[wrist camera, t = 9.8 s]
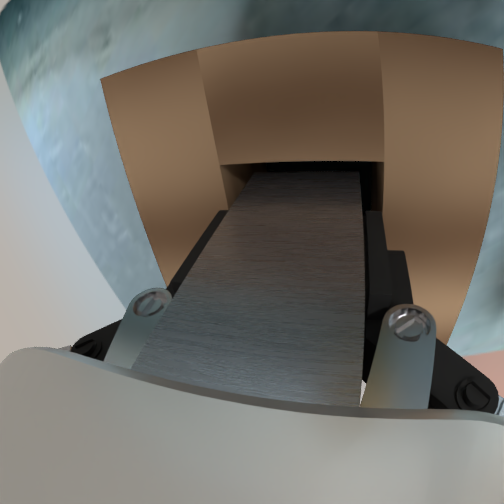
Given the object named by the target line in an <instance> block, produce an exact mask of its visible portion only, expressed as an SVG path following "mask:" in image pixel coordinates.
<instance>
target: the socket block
mask: <svg viewBox="0 0 504 504" xmlns="http://www.w3.org/2000/svg"><path fill="white" fill-rule="evenodd" d="M100 80H101V84H102V88H103V92H104V96H105V100H106V104H107V108H108V112H109V116H110V120H111V123H112V127H113V131H114V134H115V138H116V141H117V145H118V148H119V152H120V155H121V158H122V162H123V165H124V168H125V171H126V174H127V178H128V181H129V184H130V187H131V190H132V193H133V196H134V199H135V202H136V205H137V208H138V211H139V214H140V217H141V220H142V222H143V225H144V228H145V231H146V234H147V236H148V239H149V242H150V245H151V247H152V250H153V253H154V255H155V258H156V261H157V263H158V266H159V268H160V271H161V273H162V276H163V279H164V281H165V284H166V286H167V287H168V285H169V284H170V281H171V280H172V278H173V277H174V275H175V274H176V272H177V271H178V269H179V268H180V266H181V265H182V263H183V262H184V260H185V259H186V257H187V256H188V254H189V253H190V252H191V250H192V249H193V247H194V246H195V244H196V243H197V241H198V240H199V238H200V237H201V236H202V234H203V233H204V231H205V230H206V228H207V227H208V225H209V224H210V223H211V221H212V220H213V218H214V217H215V215H216V214H217V213H218V211H219V210H229V209H230V208H231V206H232V205H233V203H234V202H235V200H236V199H237V197H238V196H239V194H240V193H241V191H242V190H243V188H244V187H245V185H246V184H247V182H248V181H249V179H250V178H251V176H252V175H253V174H254V172H267V167H266V162H288V161H371V211H381V212H382V217H383V223H384V230H385V237H386V244H387V250H401V251H404V252H405V256H406V261H407V267H408V272H409V278H410V284H411V290H412V297H413V304H414V305H417V306H421V307H422V308H424V309H426V310H427V311H428V312H429V313H430V314H431V315H432V316H433V318H434V319H435V321H436V328H437V329H436V338H437V339H439V340H440V341H441V342H443V343H444V344H445V345H447V343H448V340H449V338H450V336H451V333H452V331H453V328H454V326H455V323H456V321H457V318H458V316H459V313H460V311H461V308H462V305H463V302H464V300H465V297H466V294H467V291H468V288H469V285H470V282H471V279H472V276H473V273H474V270H475V266H476V263H477V260H478V256H479V253H480V249H481V246H482V242H483V238H484V234H485V230H486V226H487V221H488V217H489V212H490V208H491V203H492V198H493V192H494V187H495V181H496V175H497V168H498V161H499V153H500V144H501V133H502V120H503V98H504V68H503V49H501V48H497V47H493V46H489V45H484V44H479V43H474V42H469V41H464V40H458V39H452V38H445V37H438V36H430V35H421V34H411V33H398V32H379V31H330V32H311V33H297V34H286V35H277V36H269V37H261V38H254V39H247V40H241V41H235V42H230V43H224V44H219V45H214V46H209V47H205V48H200V49H196V50H192V51H188V52H184V53H180V54H176V55H172V56H168V57H165V58H161V59H158V60H154V61H151V62H148V63H145V64H141V65H138V66H135V67H132V68H129V69H126V70H123V71H121V72H118V73H115V74H112V75H110V76H107V77H104V78H102V79H100Z"/></svg>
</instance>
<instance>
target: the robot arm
mask: <svg viewBox="0 0 504 504" xmlns="http://www.w3.org/2000/svg"><path fill="white" fill-rule="evenodd" d="M228 211H229V210H219V211H218V213H217V214H216V215H215V217H214V218H213V220H212V221H211V223H210V224H209V225H208V227H207V228H206V230H205V231H204V233H203V234H202V236H201V237H200V238H199V240H198V241H197V243H196V244H195V246H194V247H193V249H192V250H191V252H190V253H189V254H188V256H187V257H186V259H185V260H184V262H183V263H182V265H181V266H180V268H179V269H178V271H177V272H176V274H175V275H174V277H173V278H172V280H171V281H170V284H169V285H168V287H167V288H166V289H163V288H152V289H148V290H145V291H143V292H141V293H140V294H138V295H137V296H136V297H135V298H133V300H132V301H131V303H130V304H129V306H128V308H127V310H126V313H125V315H124V317H123V319H121V320H119V321H117V322H114V323H112V324H110V325H108V326H106V327H103V328H101V329H99V330H97V331H95V332H92V333H90V334H88V335H86V336H84V337H82V338H80V339H79V340H78V341H77V342H76V343H75V344H74V345H73V347H71V345H70V346H67V347H63V348H59V349H55V348H50V347H49V348H48V347H31V348H24V349H20V350H17V351H14V352H12V353H11V354H9V355H8V356H7V357H6V358H5V359H4V360H3V362H2V363H1V364H0V504H504V398H502V397H501V396H499V395H498V391H497V389H496V387H495V385H494V383H493V382H492V381H491V380H490V379H489V378H487V377H486V376H485V375H484V374H482V373H481V372H480V371H479V370H477V369H476V368H475V367H474V366H472V365H471V364H470V363H468V362H467V361H466V360H465V359H463V358H462V357H461V356H459V355H458V354H457V353H456V352H454V351H453V350H452V349H450V348H449V347H448V346H446V345H445V344H444V343H443V342H441V341H440V340H439V339H437V338H436V329H437V328H436V321H435V319H434V318H433V316H432V315H431V314H430V313H429V312H428V311H427V310H426V309H424V308H422V307H421V306H417V305H414V304H413V297H412V290H411V284H410V278H409V272H408V267H407V261H406V256H405V252H404V251H401V250H387V244H386V237H385V230H384V223H383V217H382V212H381V211H365V215H362V216H363V235H364V264H365V321H364V350H363V369H362V380H363V381H364V382H365V383H366V388H365V391H364V395H363V398H362V401H361V404H360V407H346V406H332V405H320V404H310V403H300V402H292V401H284V400H276V399H269V398H262V397H255V396H249V395H243V394H237V393H231V392H226V391H220V390H215V389H210V388H205V387H200V386H195V385H191V384H186V383H182V382H177V381H173V380H169V379H165V378H161V377H157V376H153V375H149V374H145V373H141V372H138V371H134V370H130V369H131V367H132V365H133V364H134V362H135V360H136V359H137V357H138V355H139V353H140V352H141V350H142V348H143V347H144V345H145V343H146V342H147V340H148V338H149V337H150V335H151V333H152V331H153V330H154V328H155V326H156V325H157V323H158V322H159V320H160V318H161V317H162V315H163V313H164V312H165V310H166V308H167V307H168V305H169V303H170V302H171V300H172V299H173V297H174V295H175V294H176V292H177V290H178V289H179V287H180V286H181V284H182V282H183V281H184V279H185V278H186V276H187V274H188V273H189V271H190V270H191V268H192V267H193V265H194V263H195V262H196V260H197V259H198V257H199V255H200V254H201V252H202V251H203V249H204V248H205V246H206V245H207V243H208V241H209V240H210V238H211V237H212V235H213V234H214V232H215V231H216V229H217V228H218V226H219V224H220V223H221V221H222V220H223V218H224V217H225V215H226V214H227V212H228Z"/></svg>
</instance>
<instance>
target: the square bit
mask: <svg viewBox="0 0 504 504" xmlns="http://www.w3.org/2000/svg"><path fill="white" fill-rule="evenodd" d="M364 321H365V264H364V235H363V216H362V201H361V188H360V177H359V171H278V172H254V174H253V175H252V176H251V178H250V179H249V181H248V182H247V184H246V185H245V187H244V188H243V190H242V191H241V193H240V194H239V196H238V197H237V199H236V200H235V202H234V203H233V205H232V206H231V208H230V209H229V211H228V212H227V214H226V215H225V217H224V218H223V220H222V221H221V223H220V224H219V226H218V228H217V229H216V231H215V232H214V234H213V235H212V237H211V238H210V240H209V241H208V243H207V245H206V246H205V248H204V249H203V251H202V252H201V254H200V255H199V257H198V259H197V260H196V262H195V263H194V265H193V267H192V268H191V270H190V271H189V273H188V274H187V276H186V278H185V279H184V281H183V282H182V284H181V286H180V287H179V289H178V290H177V292H176V294H175V295H174V297H173V299H172V300H171V302H170V303H169V305H168V307H167V308H166V310H165V312H164V313H163V315H162V317H161V318H160V320H159V322H158V323H157V325H156V326H155V328H154V330H153V331H152V333H151V335H150V337H149V338H148V340H147V342H146V343H145V345H144V347H143V348H142V350H141V352H140V353H139V355H138V357H137V359H136V360H135V362H134V364H133V365H132V367H131V369H130V370H134V371H138V372H141V373H145V374H149V375H153V376H157V377H161V378H165V379H169V380H173V381H177V382H182V383H186V384H191V385H195V386H200V387H205V388H210V389H215V390H220V391H226V392H231V393H237V394H243V395H249V396H255V397H262V398H269V399H276V400H284V401H292V402H300V403H310V404H320V405H332V406H346V407H360V395H361V383H362V369H363V350H364Z"/></svg>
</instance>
